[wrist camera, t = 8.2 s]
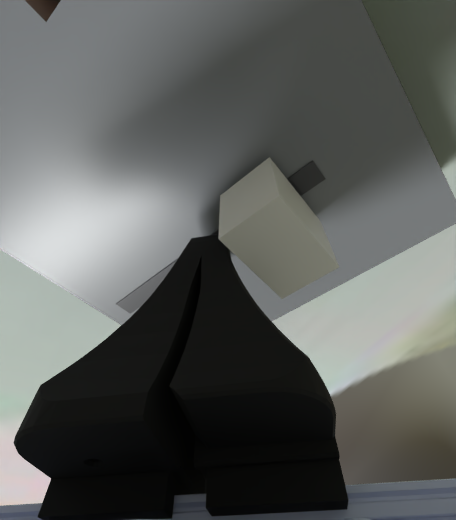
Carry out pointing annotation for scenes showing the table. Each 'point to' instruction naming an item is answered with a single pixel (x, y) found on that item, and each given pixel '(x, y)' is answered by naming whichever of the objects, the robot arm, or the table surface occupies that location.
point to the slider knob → (274, 231)
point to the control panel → (201, 138)
